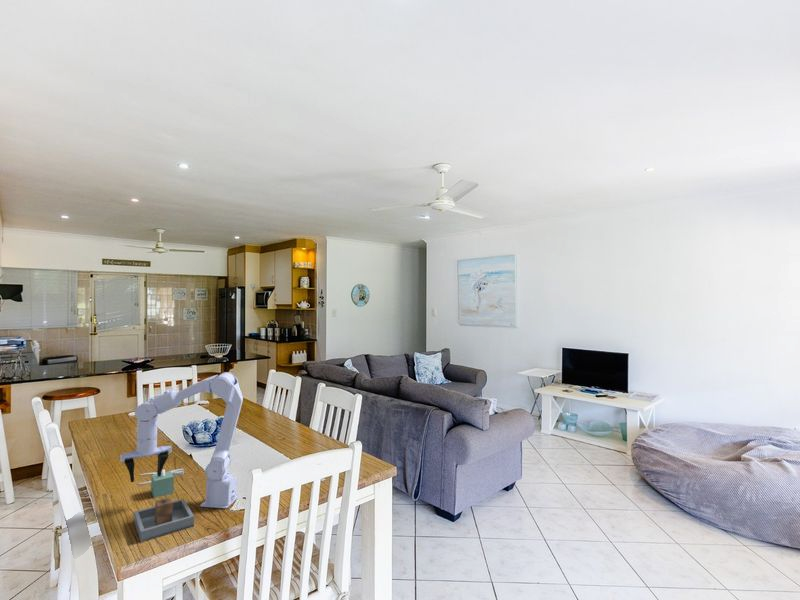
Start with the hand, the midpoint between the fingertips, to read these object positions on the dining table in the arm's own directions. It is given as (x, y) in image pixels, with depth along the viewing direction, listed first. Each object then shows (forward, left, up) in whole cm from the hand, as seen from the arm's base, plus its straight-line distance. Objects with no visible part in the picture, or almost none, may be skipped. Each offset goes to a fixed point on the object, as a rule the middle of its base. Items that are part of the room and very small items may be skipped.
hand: (145, 478), depth 136 cm
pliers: (+10, -22, -10) cm, 26 cm away
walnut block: (-13, +9, -9) cm, 18 cm away
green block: (+1, -10, -10) cm, 14 cm away
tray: (-13, +9, -9) cm, 18 cm away
